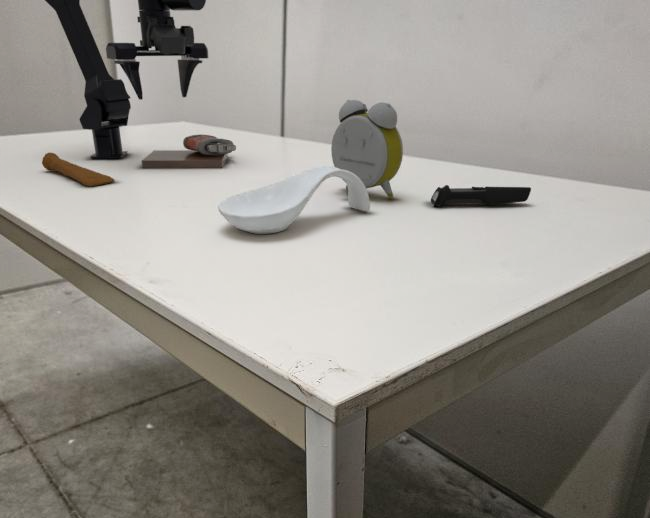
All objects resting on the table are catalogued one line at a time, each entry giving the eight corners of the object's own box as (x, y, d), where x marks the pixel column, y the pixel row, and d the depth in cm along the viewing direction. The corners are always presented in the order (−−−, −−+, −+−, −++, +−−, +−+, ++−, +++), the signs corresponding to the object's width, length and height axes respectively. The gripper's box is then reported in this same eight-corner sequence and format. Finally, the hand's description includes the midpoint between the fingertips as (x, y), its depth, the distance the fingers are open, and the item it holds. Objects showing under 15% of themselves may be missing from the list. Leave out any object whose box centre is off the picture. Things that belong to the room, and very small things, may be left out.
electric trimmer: (531, 209, 97) (535, 189, 96) (434, 208, 96) (435, 187, 95) (524, 203, 100) (527, 183, 99) (429, 202, 100) (431, 182, 98)
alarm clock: (402, 198, 102) (408, 102, 95) (376, 206, 97) (380, 105, 91) (349, 187, 109) (351, 97, 103) (322, 194, 105) (323, 100, 98)
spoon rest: (247, 247, 78) (244, 190, 75) (204, 226, 87) (200, 174, 84) (385, 217, 91) (387, 168, 88) (336, 201, 100) (337, 156, 97)
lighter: (183, 151, 132) (205, 158, 125) (182, 134, 131) (205, 140, 123) (216, 149, 137) (240, 156, 130) (216, 134, 135) (240, 139, 128)
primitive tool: (116, 182, 112) (113, 162, 110) (89, 187, 108) (85, 167, 107) (59, 169, 123) (56, 151, 121) (33, 173, 119) (29, 154, 118)
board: (154, 157, 135) (153, 150, 134) (228, 157, 136) (227, 150, 135) (142, 168, 124) (141, 160, 123) (222, 167, 125) (221, 160, 124)
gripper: (121, 8, 106) (132, 104, 112) (218, 11, 116) (223, 99, 122) (99, 9, 114) (111, 99, 120) (192, 12, 124) (198, 95, 130)
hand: (162, 98), depth 123 cm, fingers open, 9 cm apart
